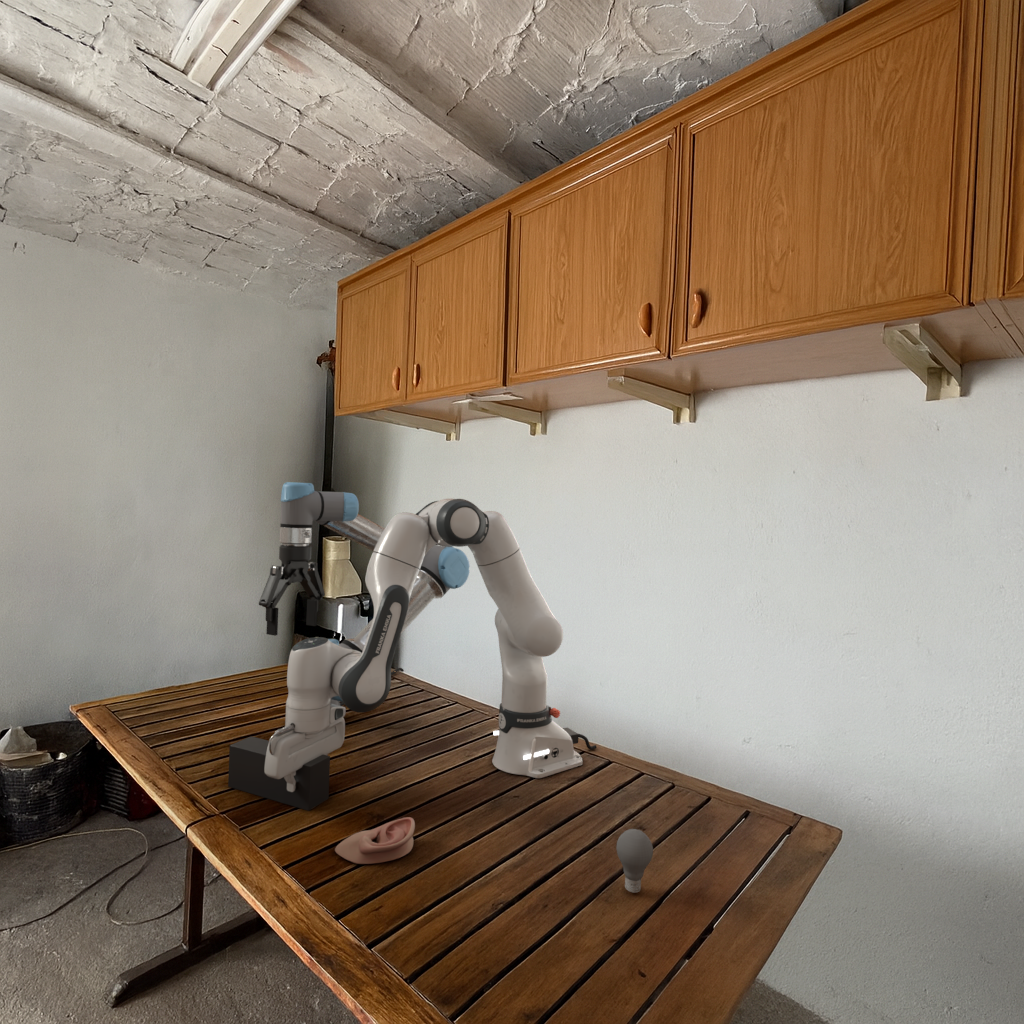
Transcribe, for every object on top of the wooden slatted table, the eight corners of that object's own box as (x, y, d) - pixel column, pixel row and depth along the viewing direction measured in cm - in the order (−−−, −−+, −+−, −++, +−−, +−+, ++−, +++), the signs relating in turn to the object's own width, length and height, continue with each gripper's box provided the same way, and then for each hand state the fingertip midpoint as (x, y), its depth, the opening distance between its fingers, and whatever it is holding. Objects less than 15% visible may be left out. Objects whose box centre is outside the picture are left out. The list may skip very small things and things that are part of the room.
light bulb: (610, 879, 108) (613, 822, 108) (644, 879, 109) (647, 822, 109) (619, 902, 102) (622, 840, 102) (655, 901, 103) (658, 840, 103)
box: (227, 786, 136) (229, 745, 136) (249, 776, 142) (251, 736, 142) (308, 811, 128) (310, 766, 127) (328, 798, 133) (330, 756, 133)
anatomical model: (327, 836, 111) (356, 806, 122) (326, 858, 111) (355, 826, 122) (398, 848, 108) (421, 815, 119) (397, 871, 108) (420, 836, 119)
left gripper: (269, 548, 144) (265, 641, 144) (340, 543, 167) (337, 623, 167) (244, 545, 147) (241, 636, 147) (317, 541, 170) (314, 620, 170)
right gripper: (282, 736, 121) (280, 807, 121) (350, 706, 140) (348, 768, 140) (258, 730, 123) (255, 800, 124) (328, 701, 142) (325, 762, 142)
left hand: (292, 630), depth 157 cm, fingers open, 13 cm apart
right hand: (305, 783), depth 132 cm, fingers closed on box, 6 cm apart
